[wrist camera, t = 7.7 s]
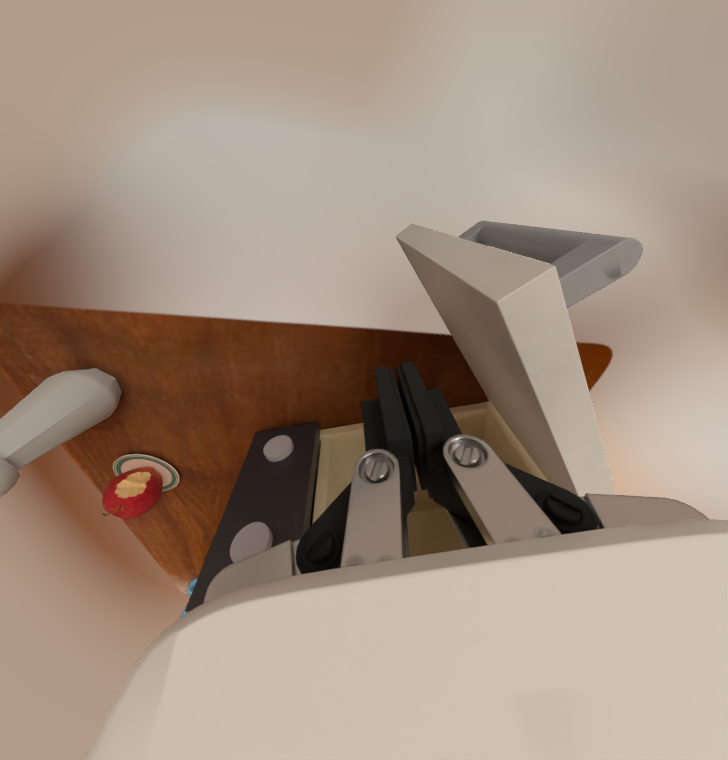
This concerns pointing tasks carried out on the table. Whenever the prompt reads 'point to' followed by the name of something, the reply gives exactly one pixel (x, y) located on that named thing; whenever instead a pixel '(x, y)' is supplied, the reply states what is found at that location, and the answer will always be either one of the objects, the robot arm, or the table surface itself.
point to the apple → (137, 485)
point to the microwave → (329, 489)
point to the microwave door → (527, 331)
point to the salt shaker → (53, 417)
